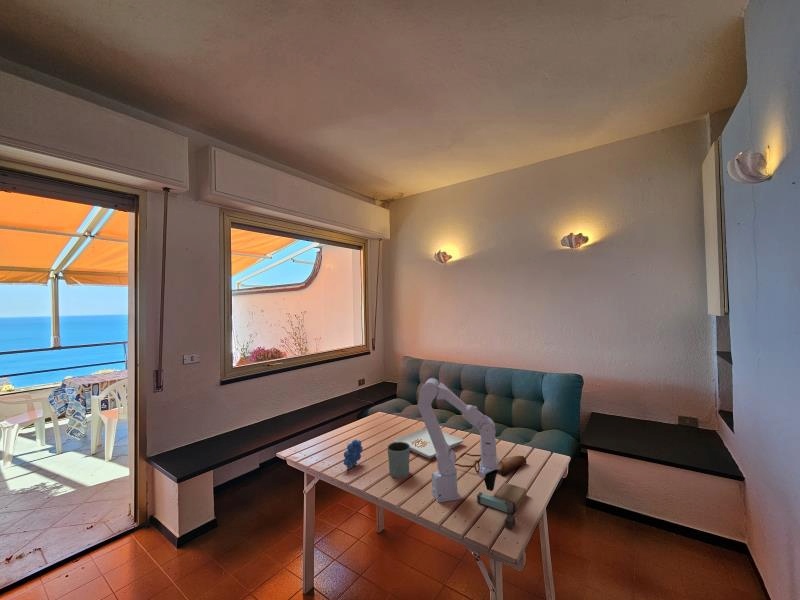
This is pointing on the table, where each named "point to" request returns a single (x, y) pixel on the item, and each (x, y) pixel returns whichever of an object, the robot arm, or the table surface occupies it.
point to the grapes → (352, 453)
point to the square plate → (424, 435)
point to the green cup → (398, 459)
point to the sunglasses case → (510, 464)
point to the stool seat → (511, 500)
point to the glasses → (470, 465)
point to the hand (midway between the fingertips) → (490, 489)
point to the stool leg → (495, 502)
